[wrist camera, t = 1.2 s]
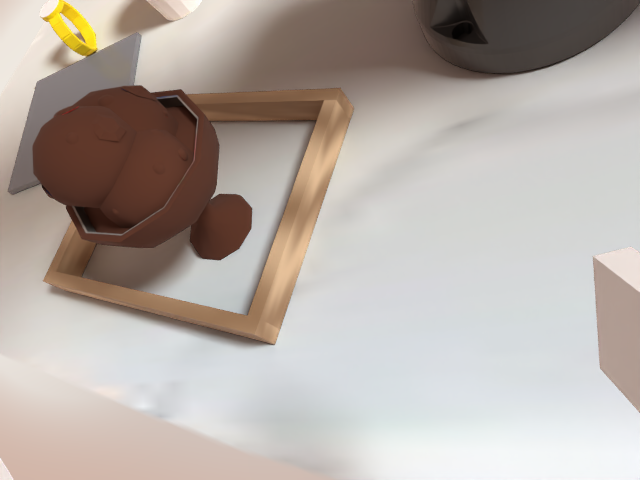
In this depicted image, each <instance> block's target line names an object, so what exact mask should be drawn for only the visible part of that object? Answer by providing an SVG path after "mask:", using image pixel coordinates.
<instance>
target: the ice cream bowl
mask: <svg viewBox="0 0 640 480" xmlns="http://www.w3.org/2000/svg"><path fill="white" fill-rule="evenodd" d="M32 151H33V174H34V175H35V176H36V178H37V179H38V180H39V182H40V183H41V184H42V188H43V190H44V191H45V192H46V194H47V195H48V196H49V197H50V198H53V199H55V200H56V201H58V202H60V203H62V204H64V205H66V209H67V211H68V213H69V215H70V217H71V219H72V221H73V223H74V225H75V227H76V229H77V231H78V233H79V235H80V237H81V239H83V240H86V241H90V242H94V243H98V244H101V245H111V246H123V247H135V248H154V247H156V246H158V245H159V244H161V243H163V242H165V241H167V240H168V239H170V238H172V237H173V236H175V235H176V234H178V233H180V232H181V231H183V230H184V229H186V228H187V227H189V226H191V234H190V242H191V243H192V245H193V246H194V248H195V249H196V250H197V252H198V253H199V255H200V256H201V257H202V259H213V260H221V259H223V258H224V257H226V256H228V255H229V254H231V253H233V252H234V251H236V250H238V249H239V248H240V246H241V245H242V243H243V241H244V240H245V238H246V236H247V235H248V233H249V231H250V230H251V224H252V208H251V206H250V205H249V204H248V203H247V202H246V201H245V200H244V198H243V197H242V196H240V195H237V194H219V195H217V196H216V197H214V198H213V199H211V197H212V196H213V194H214V193H215V189H216V185H217V173H218V158H219V142H218V138H217V135H216V132H215V129H214V127H213V126H212V124H211V123H210V121H209V120H208V118H207V117H206V115H205V114H204V113H203V112H202V111H201V110H200V109H199V107H198V106H197V105H196V104H195V103H194V102H193V101H192V100H191V99H190V98H189V97H188V96H187V95H186V94H185V93H184V92H183V91H182V90H181V89H180V90H172V91H163V92H155V93H150V92H149V91H148V90H146V89H145V88H144V87H143V86H121V87H115V88H109V89H104V90H98V91H92V92H90V93H88V94H87V95H86V96H84V97H83V98H81V99H80V100H79V101H77V102H76V103H75V104H73V105H72V106H69V107H66V108H64V109H62V110H60V111H58V112H56V114H55V115H54V116H53V118H52V119H51V120H49V121H48V122H47V123H45V124H44V125H43V126H42V127H41V129H40V131H39V133H38V135H37V137H36V139H35V141H34V143H33V146H32ZM210 199H211V200H210Z"/></svg>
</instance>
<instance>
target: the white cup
mask: <svg viewBox="0 0 640 480" xmlns="http://www.w3.org/2000/svg"><path fill="white" fill-rule="evenodd" d="M146 1H147V2H149V3H150V4H151V5H152V6H153V7H154V8H155V9H156V10H157V11H158V12H160V13H161V14H162V15H163V16H164V17H165V18H166V19H167V20H171V21H176V20H179V19H182V18H184V17H186V16H187V15H189V14H190V13H192V12H193V11H194V10H195V9H196V8H197V7H198V6H199V4H200V3H201V1H202V0H146Z"/></svg>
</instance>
